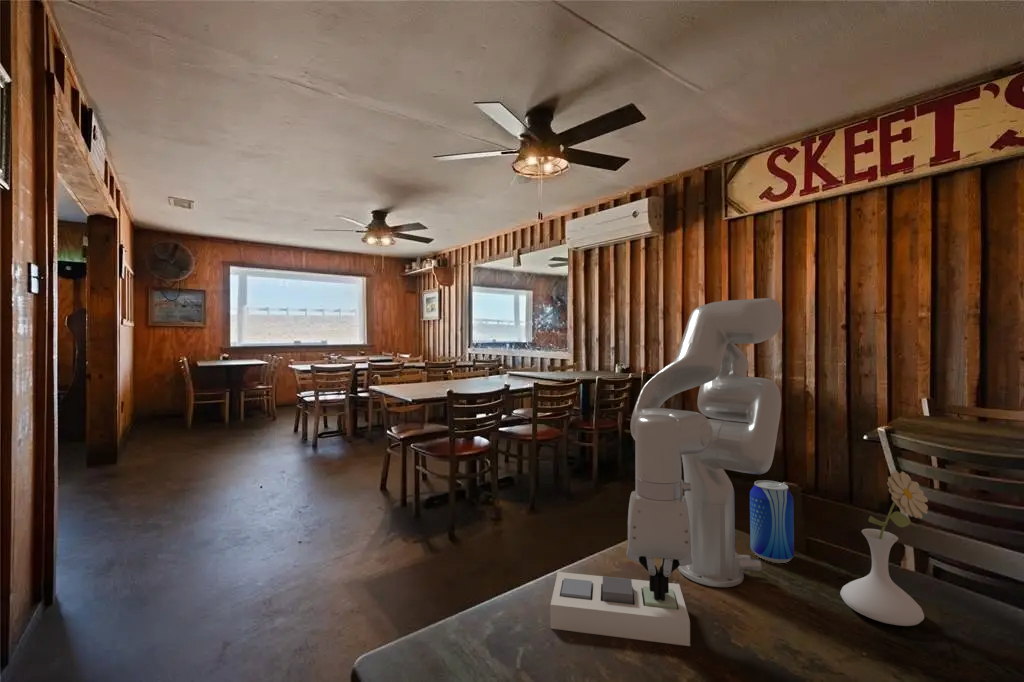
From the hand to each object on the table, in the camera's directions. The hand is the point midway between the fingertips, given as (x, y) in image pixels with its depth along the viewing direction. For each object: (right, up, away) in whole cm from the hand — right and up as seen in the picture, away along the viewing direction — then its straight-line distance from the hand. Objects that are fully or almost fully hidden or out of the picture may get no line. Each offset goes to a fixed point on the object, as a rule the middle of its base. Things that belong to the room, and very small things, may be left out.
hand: (658, 595), depth 77 cm
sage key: (0, -3, 0) cm, 3 cm away
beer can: (+33, -5, +23) cm, 40 cm away
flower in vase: (+40, -5, +2) cm, 41 cm away
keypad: (-7, -5, +2) cm, 8 cm away
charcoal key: (-7, -2, +2) cm, 7 cm away
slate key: (-14, -3, +3) cm, 14 cm away
